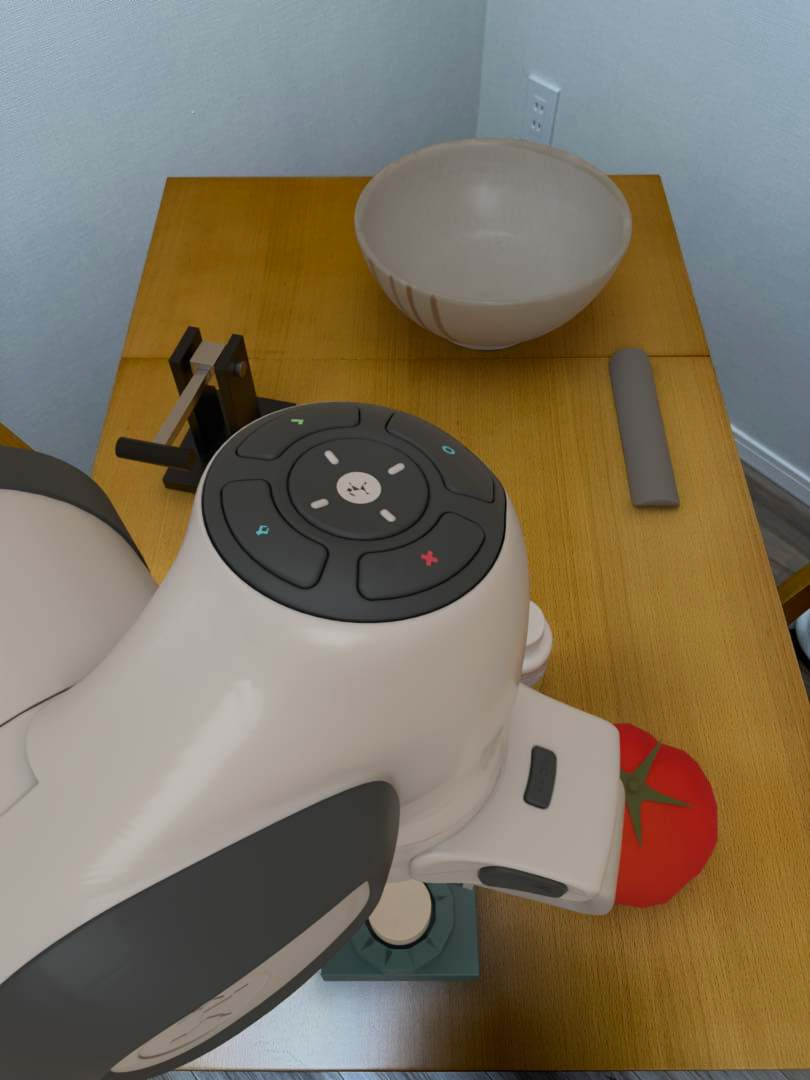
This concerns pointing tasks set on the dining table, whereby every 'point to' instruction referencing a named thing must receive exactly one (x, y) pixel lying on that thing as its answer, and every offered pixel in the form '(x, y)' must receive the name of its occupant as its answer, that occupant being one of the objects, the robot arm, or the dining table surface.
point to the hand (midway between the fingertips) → (393, 852)
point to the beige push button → (402, 912)
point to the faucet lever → (176, 417)
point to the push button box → (417, 946)
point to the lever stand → (215, 404)
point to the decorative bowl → (492, 238)
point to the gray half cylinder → (642, 430)
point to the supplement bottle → (536, 649)
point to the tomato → (661, 819)
